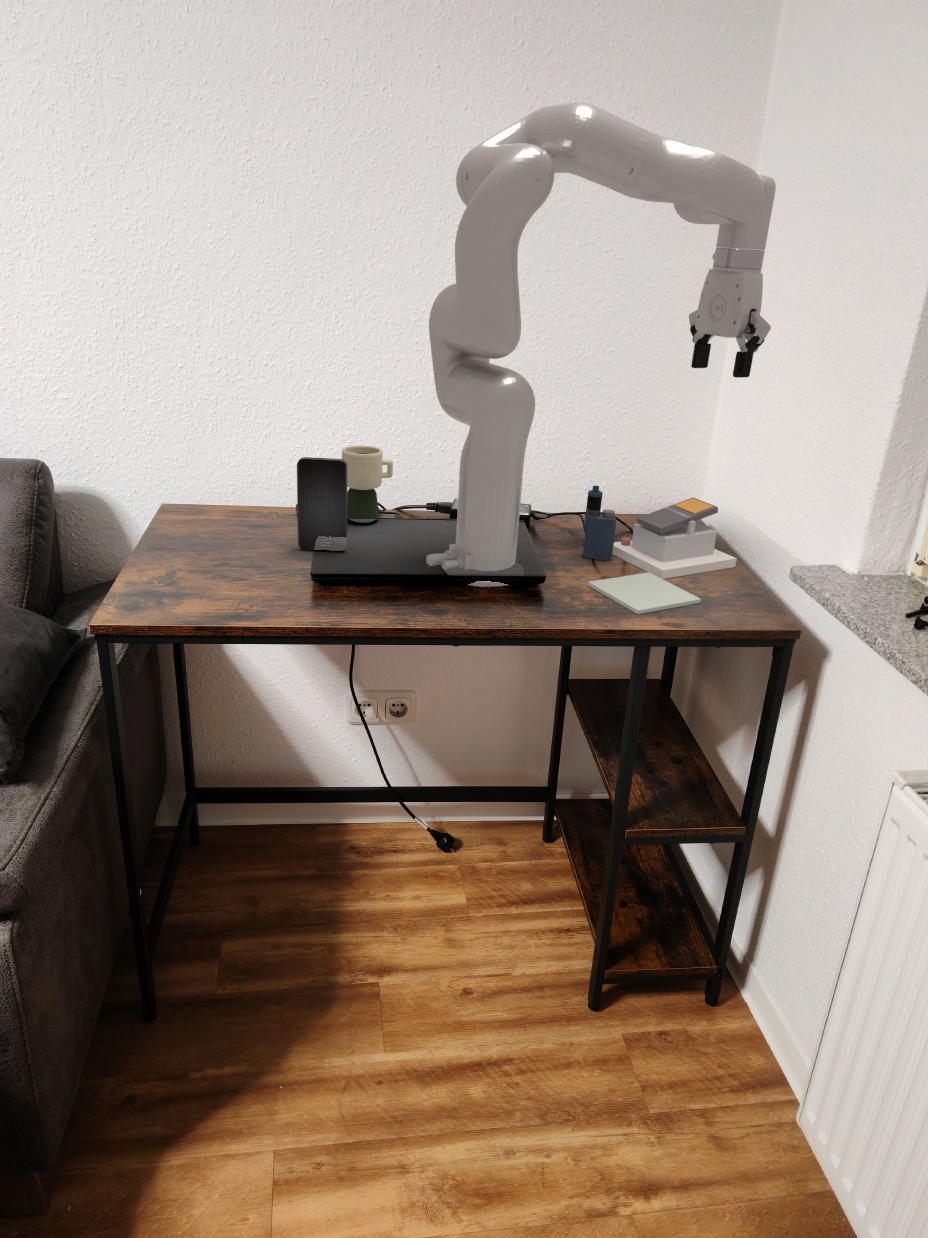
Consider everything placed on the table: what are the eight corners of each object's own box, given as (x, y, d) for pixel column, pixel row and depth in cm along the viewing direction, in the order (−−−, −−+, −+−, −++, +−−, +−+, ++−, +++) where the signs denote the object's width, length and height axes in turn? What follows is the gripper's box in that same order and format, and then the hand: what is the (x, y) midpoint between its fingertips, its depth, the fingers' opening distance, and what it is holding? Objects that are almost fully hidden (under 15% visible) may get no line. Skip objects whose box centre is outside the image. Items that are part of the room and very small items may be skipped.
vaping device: (581, 552, 153) (589, 483, 148) (612, 557, 151) (621, 487, 147) (579, 557, 150) (587, 487, 146) (610, 561, 149) (619, 491, 144)
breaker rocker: (661, 534, 145) (660, 527, 144) (637, 523, 150) (637, 517, 149) (717, 513, 149) (717, 506, 149) (692, 503, 154) (692, 496, 153)
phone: (347, 549, 147) (347, 459, 141) (346, 552, 146) (346, 460, 140) (298, 547, 147) (296, 456, 141) (297, 549, 146) (295, 458, 140)
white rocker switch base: (661, 579, 143) (668, 532, 140) (607, 551, 154) (612, 507, 151) (735, 566, 150) (743, 522, 147) (678, 541, 161) (685, 499, 158)
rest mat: (637, 614, 129) (638, 610, 129) (587, 585, 138) (588, 581, 138) (700, 602, 135) (701, 598, 134) (648, 575, 144) (648, 572, 144)
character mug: (387, 515, 166) (389, 444, 161) (394, 526, 160) (397, 454, 155) (328, 516, 163) (328, 444, 158) (333, 528, 157) (333, 454, 152)
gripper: (683, 257, 148) (667, 364, 155) (761, 264, 134) (741, 381, 141) (716, 259, 152) (700, 364, 158) (797, 266, 138) (775, 380, 145)
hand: (719, 372), depth 150 cm, fingers open, 9 cm apart
